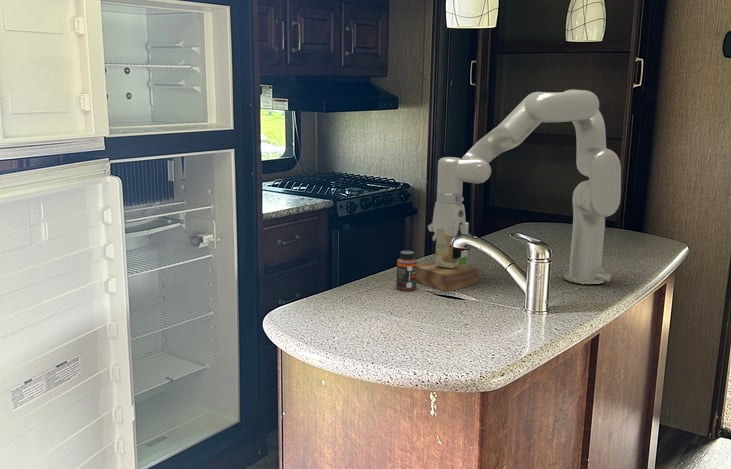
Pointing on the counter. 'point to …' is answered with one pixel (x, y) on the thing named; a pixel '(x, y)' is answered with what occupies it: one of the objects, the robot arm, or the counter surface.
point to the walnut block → (447, 276)
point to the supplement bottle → (406, 271)
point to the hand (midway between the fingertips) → (447, 255)
